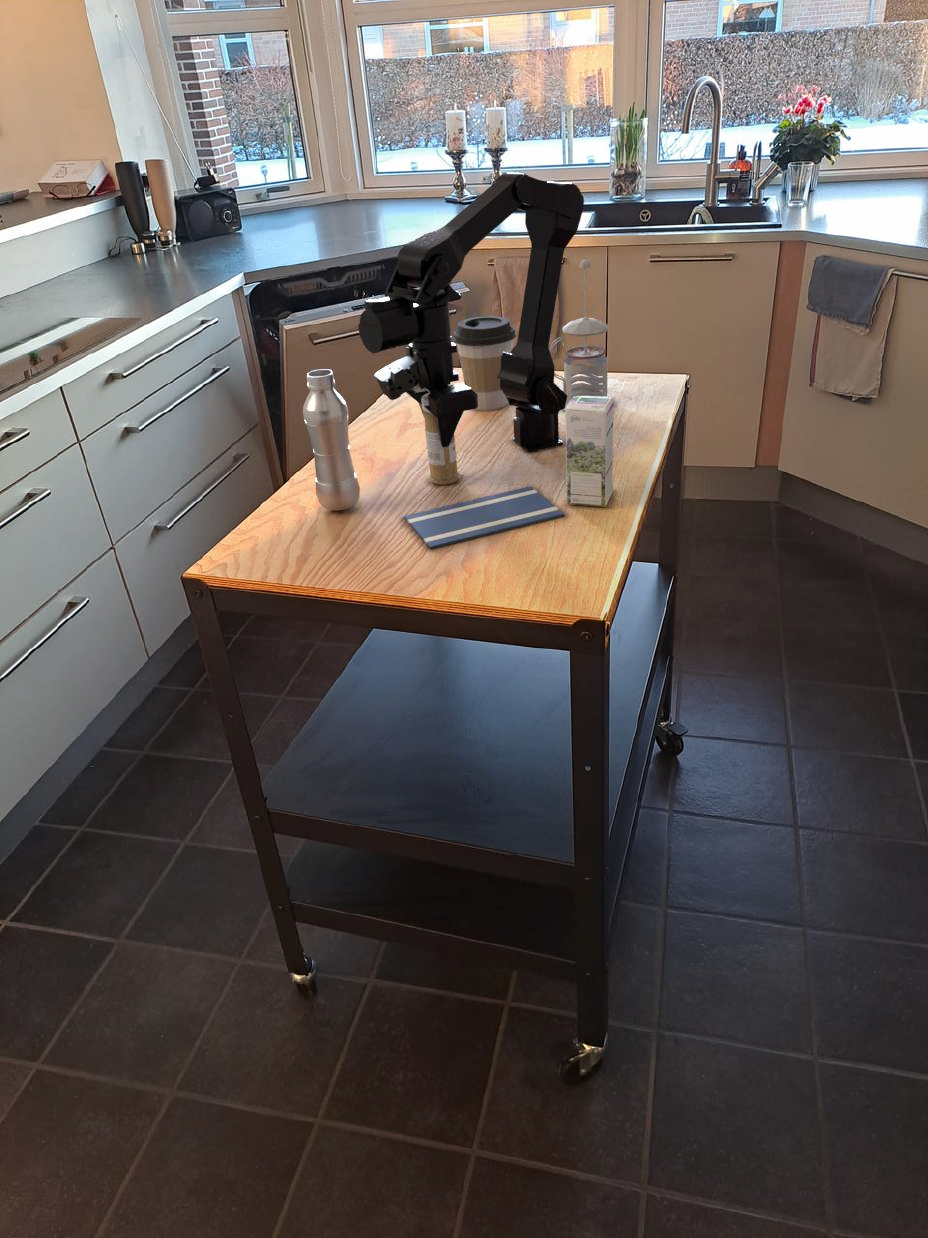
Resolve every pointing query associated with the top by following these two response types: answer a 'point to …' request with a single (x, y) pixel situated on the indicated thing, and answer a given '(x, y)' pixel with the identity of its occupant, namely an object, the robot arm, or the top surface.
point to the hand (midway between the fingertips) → (439, 441)
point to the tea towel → (482, 517)
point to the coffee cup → (484, 356)
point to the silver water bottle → (330, 442)
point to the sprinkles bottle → (439, 451)
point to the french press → (584, 356)
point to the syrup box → (589, 450)
